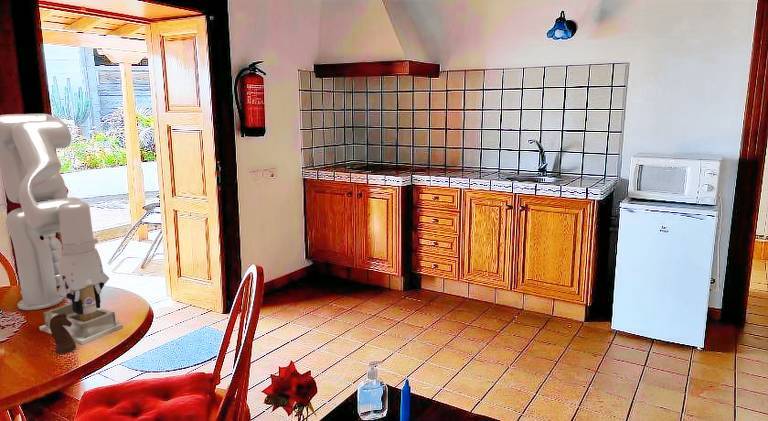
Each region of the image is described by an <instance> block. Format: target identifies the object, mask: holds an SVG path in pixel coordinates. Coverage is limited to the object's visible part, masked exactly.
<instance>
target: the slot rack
mask: <svg viewBox="0 0 768 421" xmlns="http://www.w3.org/2000/svg"><path fill="white" fill-rule="evenodd" d="M96 311H97V318H94V319H91V320H89V321H86V322H82V321H80V314H77V313H74V311H73V307H72V302H70V303H67V304H64V305H62V306H59V307H56V308H53V309H50V310H47V311H44V312H43V317H44V318H43V319H44V324H43V325H41V326H39V327H38V328H39V331H41V332H45V333H48V334H49V335H52V333H51V330H50V321H51V319H52V318H53V317H54V316H56V315H58V314H63V313H65V314H66V315H67V317H66V318H67V319H68V320H69V321H70V322H72V325H71V326H70V327H69V326H63V325H62V326H63V327H64V328H65V329H66V330H67V331H68V332H69V333H70V335H71V337H72V338H73V341H74V342H75V344H79V345H84V344H87V343H89V342H91V341H95V340H97V339H98V338H99V339H100V338H102V337H103V336H106V335H109V334H111V333H113V332H115V331H118V330H120V329H122V328H123V324H121V323H118V322H116V312H114V311H111V310H107V309H103V308H101V307H100V308H97V310H96Z"/></svg>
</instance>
